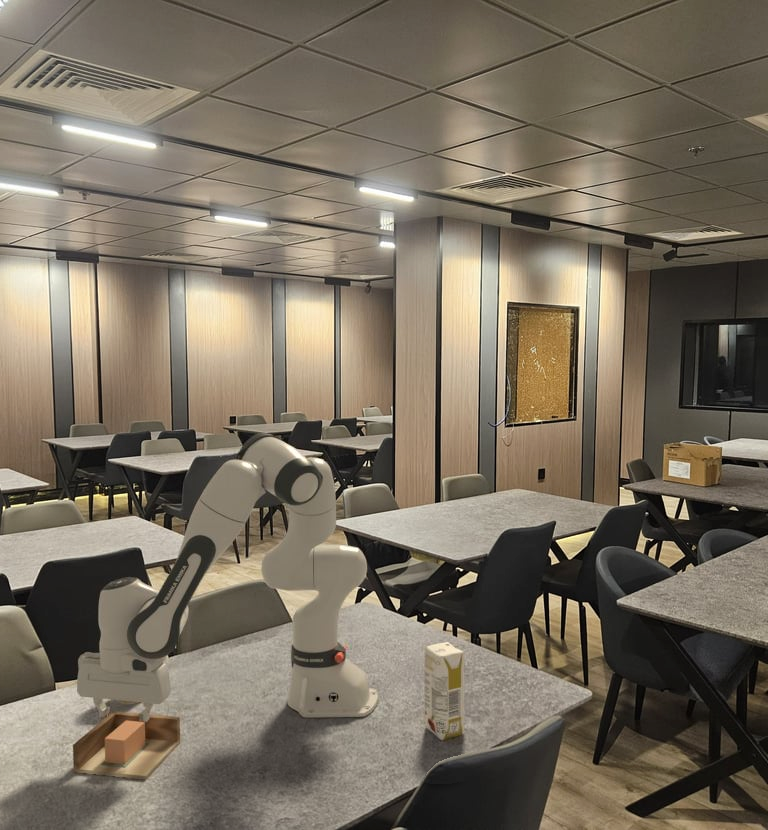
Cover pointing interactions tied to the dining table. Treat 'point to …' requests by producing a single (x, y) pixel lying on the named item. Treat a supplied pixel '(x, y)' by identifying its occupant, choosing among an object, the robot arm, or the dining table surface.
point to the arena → (158, 745)
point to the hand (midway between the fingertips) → (124, 718)
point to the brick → (124, 742)
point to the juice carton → (444, 690)
